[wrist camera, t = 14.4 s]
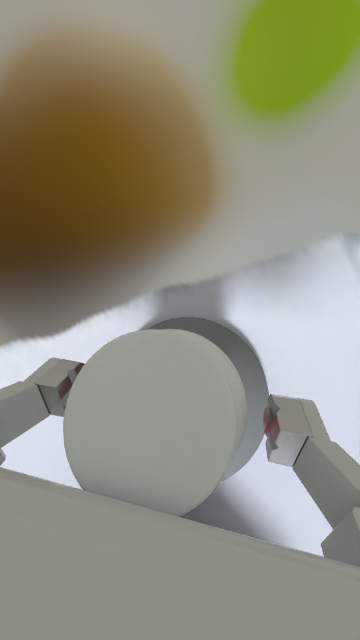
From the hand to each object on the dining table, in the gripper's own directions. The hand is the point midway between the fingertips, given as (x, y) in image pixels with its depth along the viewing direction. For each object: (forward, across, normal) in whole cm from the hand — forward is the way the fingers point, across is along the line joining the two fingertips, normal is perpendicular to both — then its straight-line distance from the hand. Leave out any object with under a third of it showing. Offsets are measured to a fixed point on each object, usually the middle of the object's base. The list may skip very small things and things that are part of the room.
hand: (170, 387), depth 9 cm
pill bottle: (+5, 0, +6) cm, 7 cm away
